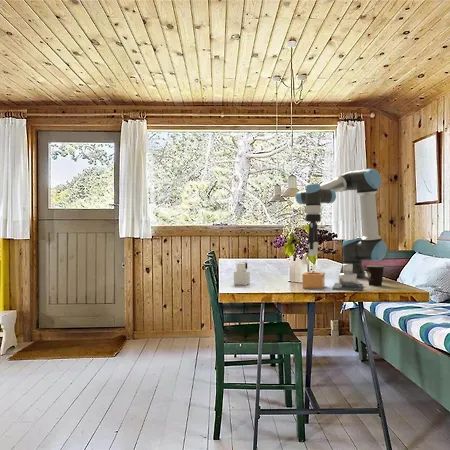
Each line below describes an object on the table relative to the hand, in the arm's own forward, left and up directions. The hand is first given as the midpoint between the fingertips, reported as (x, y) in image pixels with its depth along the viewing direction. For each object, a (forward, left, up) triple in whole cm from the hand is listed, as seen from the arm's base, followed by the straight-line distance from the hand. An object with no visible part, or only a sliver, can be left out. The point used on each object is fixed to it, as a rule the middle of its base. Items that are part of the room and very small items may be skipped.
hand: (313, 255), depth 226 cm
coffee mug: (-17, +30, -17) cm, 38 cm away
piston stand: (-2, +17, -17) cm, 24 cm away
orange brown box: (0, 0, -17) cm, 17 cm away
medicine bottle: (-1, -39, -17) cm, 42 cm away
